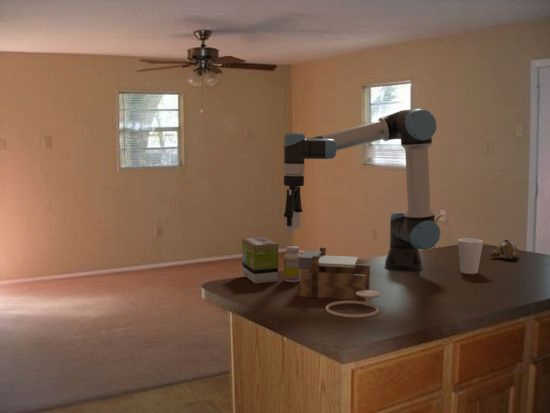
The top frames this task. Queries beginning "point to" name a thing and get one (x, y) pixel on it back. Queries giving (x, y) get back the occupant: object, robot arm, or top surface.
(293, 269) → the supplement bottle
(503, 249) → the ceramic sculpture
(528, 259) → the top surface
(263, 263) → the tea box
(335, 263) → the trapdoor
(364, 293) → the hand towel holder
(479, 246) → the foam cup
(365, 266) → the frame
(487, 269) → the top surface
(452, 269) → the top surface
